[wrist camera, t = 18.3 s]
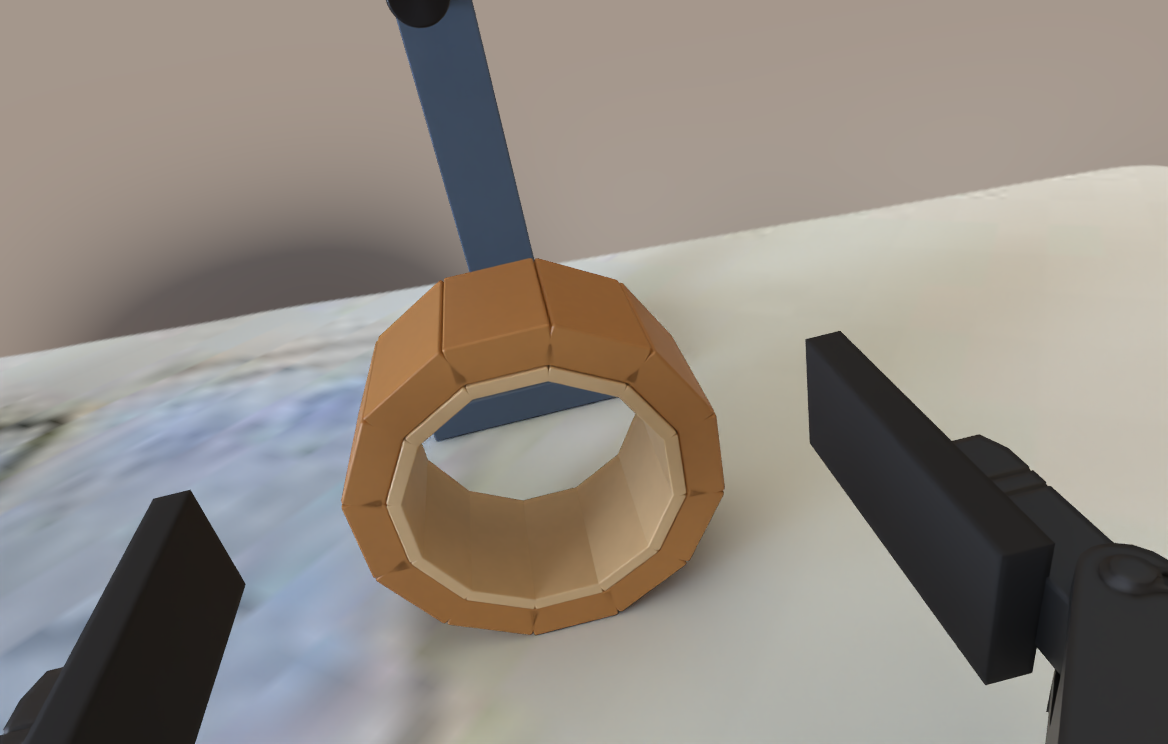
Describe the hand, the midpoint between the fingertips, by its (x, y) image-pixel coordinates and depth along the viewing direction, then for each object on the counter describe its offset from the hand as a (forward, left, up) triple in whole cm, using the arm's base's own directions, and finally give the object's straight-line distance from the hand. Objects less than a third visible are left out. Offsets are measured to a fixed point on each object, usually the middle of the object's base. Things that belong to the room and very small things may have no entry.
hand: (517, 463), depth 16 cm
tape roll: (-4, +3, -3) cm, 6 cm away
